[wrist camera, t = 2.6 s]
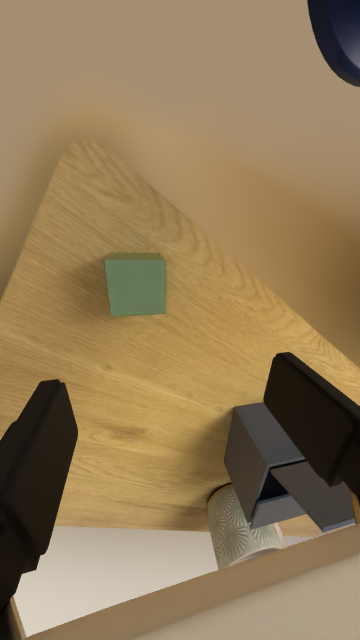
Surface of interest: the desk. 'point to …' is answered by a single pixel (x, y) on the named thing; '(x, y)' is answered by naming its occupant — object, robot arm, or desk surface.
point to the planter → (236, 531)
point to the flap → (317, 496)
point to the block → (136, 283)
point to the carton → (260, 465)
